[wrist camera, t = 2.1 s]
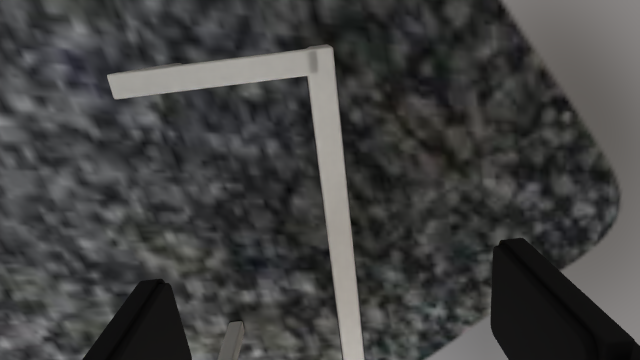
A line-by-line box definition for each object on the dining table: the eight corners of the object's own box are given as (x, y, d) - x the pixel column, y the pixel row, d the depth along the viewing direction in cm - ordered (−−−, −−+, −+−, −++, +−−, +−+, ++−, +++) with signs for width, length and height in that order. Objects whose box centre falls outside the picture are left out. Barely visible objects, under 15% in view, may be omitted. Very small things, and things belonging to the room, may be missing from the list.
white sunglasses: (329, 43, 15) (334, 45, 10) (358, 320, 19) (369, 397, 15) (164, 64, 15) (105, 74, 11) (231, 332, 19) (208, 412, 15)
